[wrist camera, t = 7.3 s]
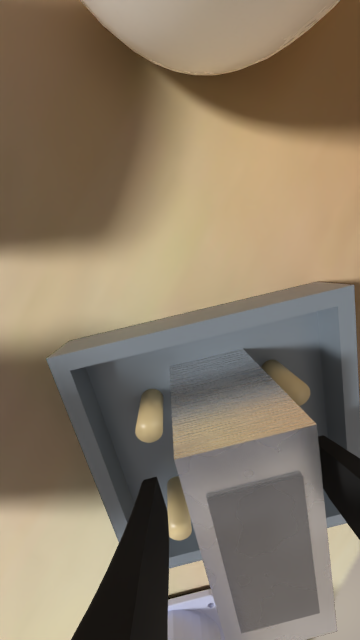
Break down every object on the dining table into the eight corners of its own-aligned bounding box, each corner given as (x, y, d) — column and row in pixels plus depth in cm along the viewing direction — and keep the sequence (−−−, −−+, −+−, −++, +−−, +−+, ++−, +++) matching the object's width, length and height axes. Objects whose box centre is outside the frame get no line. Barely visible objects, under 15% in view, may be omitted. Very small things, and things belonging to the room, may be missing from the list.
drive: (265, 481, 14) (339, 636, 8) (203, 496, 14) (231, 664, 8) (242, 348, 12) (319, 426, 6) (169, 366, 12) (173, 462, 6)
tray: (333, 479, 16) (380, 538, 12) (137, 529, 16) (130, 602, 12) (317, 281, 12) (374, 286, 9) (69, 340, 12) (32, 368, 9)
